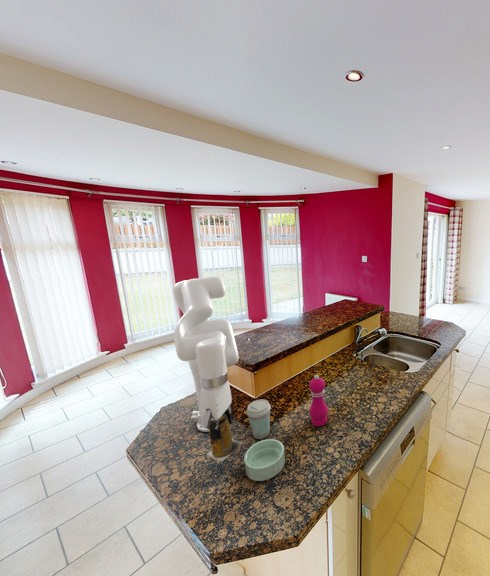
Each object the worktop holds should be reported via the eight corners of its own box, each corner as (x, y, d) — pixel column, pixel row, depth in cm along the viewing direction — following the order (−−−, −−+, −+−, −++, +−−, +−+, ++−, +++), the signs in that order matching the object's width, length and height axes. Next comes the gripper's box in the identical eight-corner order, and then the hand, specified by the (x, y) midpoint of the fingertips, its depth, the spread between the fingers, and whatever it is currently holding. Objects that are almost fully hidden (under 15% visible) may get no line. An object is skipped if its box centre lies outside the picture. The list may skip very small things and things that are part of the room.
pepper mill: (325, 428, 108) (322, 380, 104) (307, 426, 109) (304, 379, 105) (330, 416, 115) (328, 371, 111) (313, 414, 116) (310, 370, 112)
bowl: (239, 482, 85) (237, 468, 84) (254, 451, 97) (253, 439, 96) (278, 482, 85) (277, 468, 84) (289, 451, 97) (288, 439, 96)
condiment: (206, 454, 89) (200, 421, 87) (227, 437, 96) (223, 406, 94) (222, 462, 86) (217, 427, 84) (243, 443, 93) (239, 411, 91)
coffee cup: (249, 429, 109) (245, 401, 106) (272, 423, 111) (269, 396, 109) (249, 444, 101) (245, 414, 98) (274, 437, 104) (271, 408, 101)
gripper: (217, 366, 94) (223, 414, 98) (184, 395, 77) (194, 452, 81) (238, 365, 94) (244, 413, 97) (211, 395, 77) (219, 452, 80)
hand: (221, 430), depth 89 cm, fingers closed on condiment, 6 cm apart
